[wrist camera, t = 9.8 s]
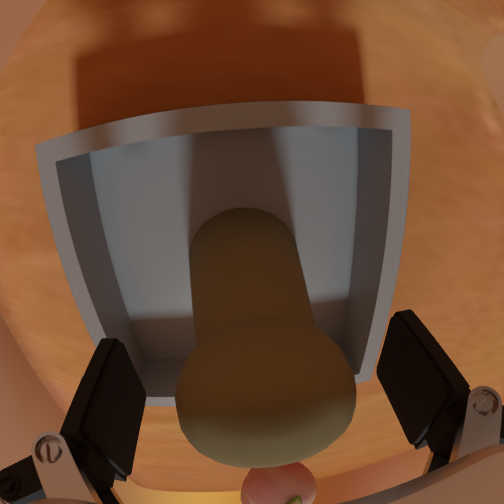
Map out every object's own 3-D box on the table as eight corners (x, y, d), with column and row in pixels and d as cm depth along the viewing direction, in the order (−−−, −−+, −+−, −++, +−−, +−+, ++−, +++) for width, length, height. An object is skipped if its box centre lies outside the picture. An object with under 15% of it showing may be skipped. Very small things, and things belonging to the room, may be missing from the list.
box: (365, 110, 14) (410, 109, 10) (348, 338, 21) (370, 380, 17) (79, 136, 13) (35, 144, 9) (138, 359, 20) (127, 404, 16)
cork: (165, 258, 15) (109, 442, 6) (249, 183, 14) (311, 326, 4) (239, 322, 18) (258, 494, 8) (317, 262, 16) (412, 423, 7)
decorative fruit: (293, 467, 31) (306, 527, 22) (233, 468, 29) (239, 533, 20) (318, 436, 27) (339, 509, 18) (247, 438, 26) (257, 521, 17)
